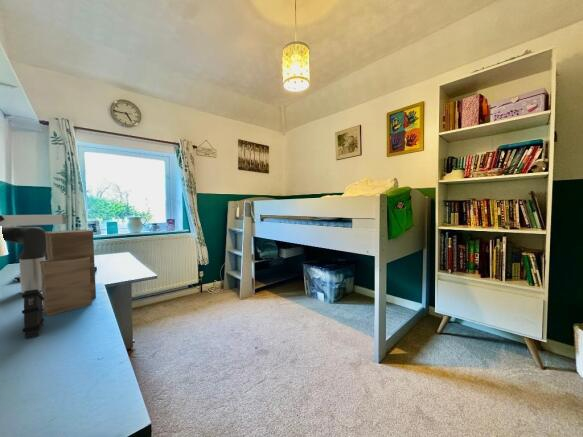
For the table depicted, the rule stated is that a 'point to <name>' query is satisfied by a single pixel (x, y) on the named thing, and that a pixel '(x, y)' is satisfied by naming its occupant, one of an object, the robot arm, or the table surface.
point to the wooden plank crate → (68, 271)
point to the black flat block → (32, 313)
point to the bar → (32, 220)
